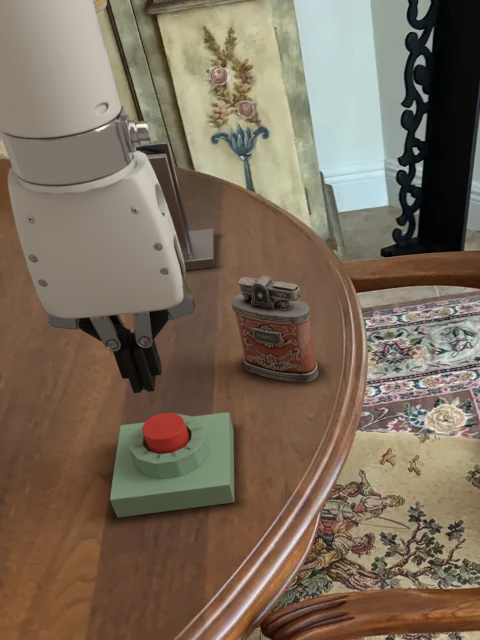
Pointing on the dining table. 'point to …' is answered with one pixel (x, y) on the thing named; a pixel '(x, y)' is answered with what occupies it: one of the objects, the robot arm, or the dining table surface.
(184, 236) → the bracket
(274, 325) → the lighter
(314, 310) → the dining table surface
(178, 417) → the button
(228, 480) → the button box
